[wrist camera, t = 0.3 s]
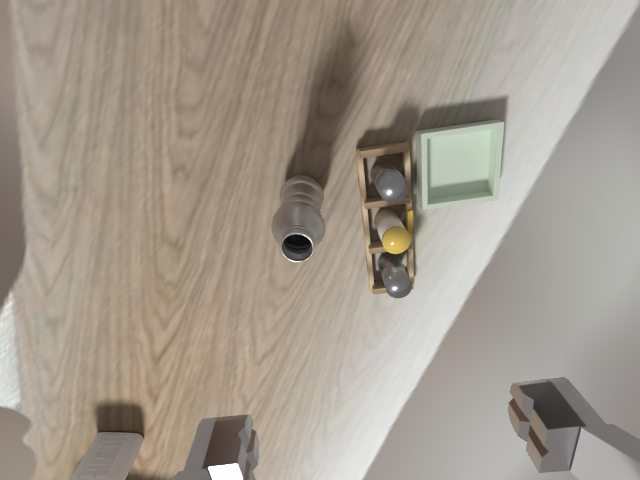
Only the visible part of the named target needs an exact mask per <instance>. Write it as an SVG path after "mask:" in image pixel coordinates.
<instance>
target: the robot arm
mask: <svg viewBox="0 0 640 480" xmlns="http://www.w3.org/2000/svg"><path fill="white" fill-rule="evenodd" d="M510 393H511V395H512V396H513V399H512V400H511V401H510V402H509V407H508V412H509V417H510V421H511V423H512V426H513V428H514V430H515V432H516V433H517V435H518V436H519V437H520V438H522V439H523V440H525V441H526V442H527V447H526V451H527V452H528V454H529V456H530V458H531V460H532V461H533V463H534V465H535V466H536V468H537V470H538V471H539V473H543V472H557V471H570V470H571V471H570V472H571V473H572V474H573V475H574V476H576V477H577V478H578V479H579V480H640V439H638V438H637V437H635V436H633V435H631V434H629V433H628V432H626V431H624V430H622V429H620V428H619V427H617V426H615V425H613V424H606V423H605V422H604V421H603V419H602V418H601V417H600V416H599V415H598V414H597V413H596V411H595V410H594V409H593V408H592V407H591V406H590V404H589V403H588V402H587V401H586V400H585V399H584V397H582V395H581V394H580V393H579V392H578V390H577V389H576V388H575V387H574V386H573V385H572V384H571V382H570V381H569V380H568V379H566V378H565V377H561V378H553V379H541V380H534V381H526V382H519V383H513V384H512V385H511V389H510ZM252 425H253V420H252V418H251V415H238V416H226V417H216V418H206V419H202V420H201V422H200V423H199V425H198V428H197V431H196V434H195V437H194V440H193V443H192V446H191V449H190V453H189V456H188V459H187V462H186V465H185V468H184V471H179V472H178V473H177V474H176V475H175V476H174V477H173V478H172V479H171V480H255V477H254V474H253V470H254V468H255V467H256V466H257V464H258V457H259V442H258V436H257V433H256V431H255V430H253V429H252Z"/></svg>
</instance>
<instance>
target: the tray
mask: <svg viewBox="0 0 640 480" xmlns="http://www.w3.org/2000/svg"><path fill="white" fill-rule="evenodd" d="M503 133H504V122H503V121H499V120H496V119H492V120H486V121H479V122H472V123H465V124H459V125H452V126H445V127H438V128H432V129H425V130H418V131H416V169H417V204H418V205H419V207H420V208H421V209H422V210H429V209H436V208H444V207H451V206H458V205H465V204H472V203H480V202H487V201H494V200H498V195H499V183H500V170H501V158H502V145H503Z"/></svg>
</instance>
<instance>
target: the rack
mask: <svg viewBox="0 0 640 480" xmlns="http://www.w3.org/2000/svg"><path fill="white" fill-rule="evenodd" d="M401 152H402V158H403V177H404V178H405V179H406V180H407V182H408V186H409V189H408V193H407V195H406V196H405V198H404V199H402V200H401V201H399V202H396V203H389V202H386V201H385V200H383V199H382V197H381V196H374V197H367V198H366V187H365V176H364V165H363V158H367V157H374V156H381V155H388V154H394V153H401ZM356 158H357V168H358V178H359V188H360V199H361V209H362V219H363V230H364V240H365V250H366V261H367V271H368V281H369V289H370V291H373V294H380V293H387V290H386V287H385V285H384V282H383V280H381V281H374V277H373V266H372V254H376V253H383V252H387V251H386V250H385V249H384V247H383V244H382V241H373V242H370V232H369V221H368V210H367V209H371V208H379V207H386V206H393V205H400V204H404V207H405V229H406V230H407V231H408V233H409V235H410V237H411V243H410V245H409V247H408V248H407V249H406V256H407V274H408V277H409V279H410V281H411V283H412V289H413V286H414V264H413V234H414V226H413V210H412V201H411V170H410V143H409V142H408V141H404V142H397V143H390V144H383V145H377V146H370V147H363V148H356Z"/></svg>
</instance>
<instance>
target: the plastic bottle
mask: <svg viewBox="0 0 640 480" xmlns="http://www.w3.org/2000/svg"><path fill="white" fill-rule="evenodd" d="M323 200H324V194H323V191H322V189H321V187H320V185H319V184H318V183H317V181H315V180H314V179H313V178H311V177H309V176H305V175H298V176H294V177H292V178H290V179H289V180H287V181H286V182H285V183H284V184H283V186H282V188H281V191H280V201H281V206H280V208H279V209H278V210H277V212H276V213H275V215H274V217H273V220H272V226H271V227H272V233H273V236H274V238H275V239H276V241H277V243H278V244H279V245H280V248H281V252H282V254H283V255H284V256H285V257H286V258H287V259H288V260H290V261H293V262H303V261H306V260H308V259H309V258H310V257H311V256H312V254H313V252H314V248H315V247H316V246H318V245H319V243H320V242H321V240H322V239H323V237H324V234H325V223H324V219H323V217H322V215H321V212H320V209H321V207H322V204H323Z"/></svg>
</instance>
